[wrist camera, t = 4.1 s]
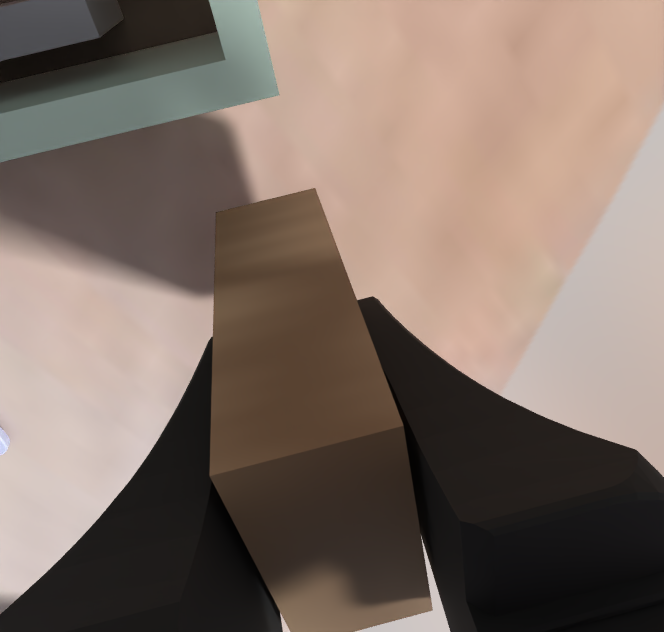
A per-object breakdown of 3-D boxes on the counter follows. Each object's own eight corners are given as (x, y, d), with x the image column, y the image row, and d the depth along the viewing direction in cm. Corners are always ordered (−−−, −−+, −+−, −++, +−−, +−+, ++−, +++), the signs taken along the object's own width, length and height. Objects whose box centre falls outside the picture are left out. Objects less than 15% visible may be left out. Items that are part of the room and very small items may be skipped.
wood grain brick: (267, 362, 16) (298, 646, 10) (215, 212, 13) (209, 475, 7) (348, 341, 16) (432, 610, 10) (314, 188, 13) (403, 425, 7)
